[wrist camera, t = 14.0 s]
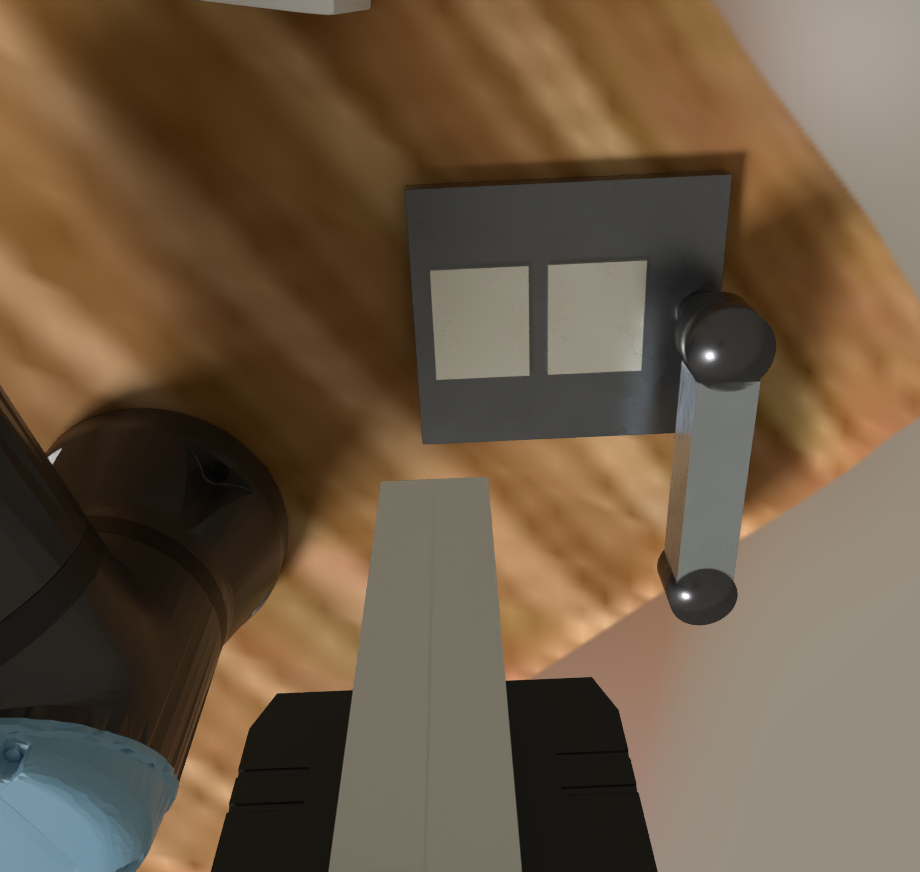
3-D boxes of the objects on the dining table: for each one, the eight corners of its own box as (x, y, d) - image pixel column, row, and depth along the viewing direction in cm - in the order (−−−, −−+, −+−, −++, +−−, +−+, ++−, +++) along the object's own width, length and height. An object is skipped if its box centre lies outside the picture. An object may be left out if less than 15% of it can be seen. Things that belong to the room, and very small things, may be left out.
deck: (423, 434, 50) (421, 464, 47) (405, 185, 44) (402, 200, 41) (706, 422, 50) (723, 450, 47) (728, 170, 44) (751, 183, 41)
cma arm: (720, 588, 51) (737, 624, 48) (651, 590, 51) (663, 626, 48) (759, 289, 43) (782, 310, 40) (677, 292, 43) (693, 313, 40)
